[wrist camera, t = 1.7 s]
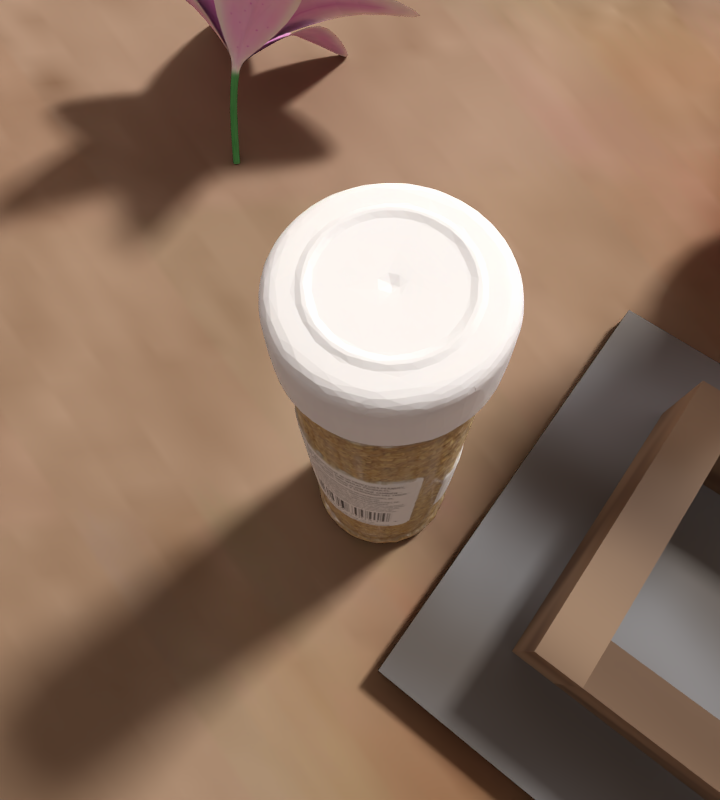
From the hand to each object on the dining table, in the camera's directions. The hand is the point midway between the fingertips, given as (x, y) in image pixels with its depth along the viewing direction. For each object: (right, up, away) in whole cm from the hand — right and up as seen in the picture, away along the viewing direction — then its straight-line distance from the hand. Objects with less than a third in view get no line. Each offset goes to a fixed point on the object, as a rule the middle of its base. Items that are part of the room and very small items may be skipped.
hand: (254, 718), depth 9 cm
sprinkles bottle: (+2, +1, +14) cm, 15 cm away
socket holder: (+13, -3, +12) cm, 18 cm away
